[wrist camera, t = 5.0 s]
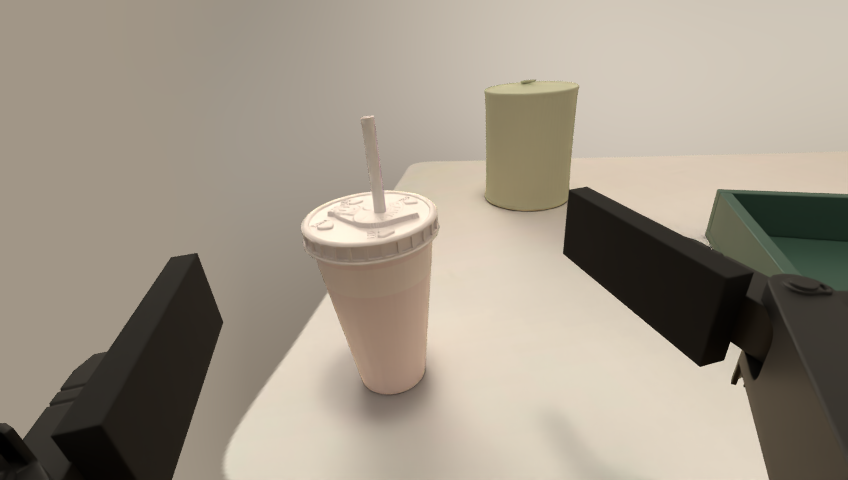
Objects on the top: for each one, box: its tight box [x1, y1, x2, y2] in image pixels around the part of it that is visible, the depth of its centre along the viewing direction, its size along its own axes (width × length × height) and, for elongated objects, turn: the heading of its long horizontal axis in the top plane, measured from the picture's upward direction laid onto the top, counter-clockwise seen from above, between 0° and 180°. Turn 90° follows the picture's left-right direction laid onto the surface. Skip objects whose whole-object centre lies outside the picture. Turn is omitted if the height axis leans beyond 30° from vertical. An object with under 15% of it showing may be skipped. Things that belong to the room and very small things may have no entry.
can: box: [485, 80, 579, 211], centre depth 43 cm, size 9×9×12 cm
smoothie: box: [301, 116, 440, 395], centre depth 20 cm, size 6×6×14 cm
